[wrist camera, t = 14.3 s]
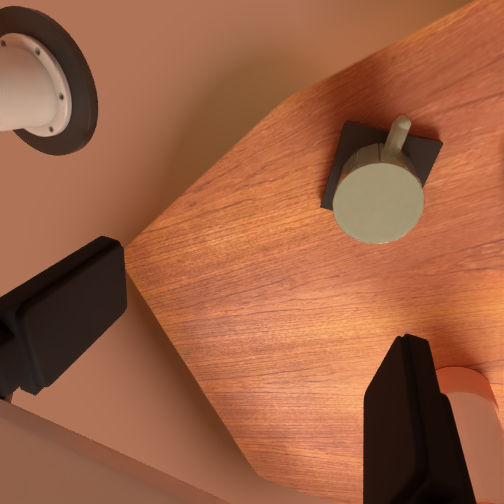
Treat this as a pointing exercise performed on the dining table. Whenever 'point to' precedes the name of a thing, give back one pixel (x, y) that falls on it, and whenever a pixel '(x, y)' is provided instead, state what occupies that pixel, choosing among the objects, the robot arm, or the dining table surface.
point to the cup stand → (364, 135)
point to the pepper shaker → (477, 430)
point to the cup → (379, 190)
